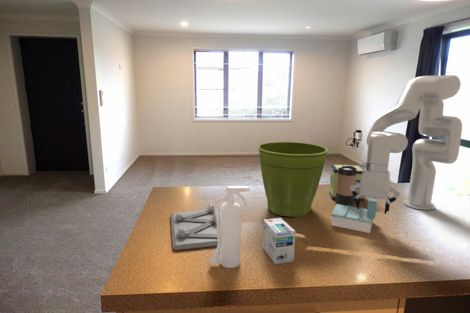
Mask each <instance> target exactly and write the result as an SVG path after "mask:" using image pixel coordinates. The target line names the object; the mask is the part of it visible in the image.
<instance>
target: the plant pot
mask: <svg viewBox="0 0 470 313" xmlns="http://www.w3.org/2000/svg"><path fill="white" fill-rule="evenodd" d="M257 149H258V151H259V152H258V154H259V163H260V169H261V178H262V183H263V188H264V191H265V197H266V201H267V203H266V204H267V209H268V210H269V212H271V213H273V214H274V215H278V216H282V217H290V218H296V217H301V216H307V215H308V214H310V213H311V211H312V210H311V209H312V204H313V202H314V199H315V197H316V193H317V190H318V188H319V184H320V181H321V178H322V173H323V169H324V165H325V163H326V160H327V159H326V158H327V154H328V152H329V149H328V148H327V147H325V146H322V145H319V144H314V143H307V142H300V141H299V142H297V141H295V142H294V141H275V142H274V141H273V142H265V143H260V144H259V145H257Z"/></svg>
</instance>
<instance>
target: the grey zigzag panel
mask: <svg viewBox="0 0 470 313" xmlns="http://www.w3.org/2000/svg"><path fill="white" fill-rule="evenodd" d="M208 205H209V206H206V209H200V210H199V209H198V210H196V209H195V210H187V211H186V210H185V211H175V212H174V211H173V212H172V213H170V225H171V226H170V227H171V240H172V241H171V242H172V249H173V250H174V251H176V250H178V251H184V250H183V249H187V250H193V248H196V249H203V247H205V248H212V247H213V248H214V247H217V245H218V238H217V223H216V216H215V212H214V208H215V203H211V204H208ZM217 211H218V215H219V223H220V208H218V209H217Z"/></svg>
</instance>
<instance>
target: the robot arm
mask: <svg viewBox="0 0 470 313" xmlns="http://www.w3.org/2000/svg"><path fill="white" fill-rule="evenodd" d="M460 89H461V79H460V78H459V77H458V76H457V75H454V74H450V75H446V74H443V75H442V74H441V75H421V76H417V77H415V78H413V79H410V80H409V81H407V83H406V84H405V86H404V88H403V90H402V92H401V94H400V96H399V99H398V100H397V102H396V103H395V106H394V107H393V108H392V109H390V110H388V111H386V112H384V113H383V114H382V115H380V116H379V117H378V118H377V119H376V120H375V121H374V122H373V124H372V126H371V127H370V129H369V131H368V133H367V136H366V145H367V152H366V161H364V162H361V166H362V167H363V168H364V169H363V172H362V175H361V181H360V183H357V184H354V185H351V186H350V189H351V191H352V194H353V195H354V196H355V198H356V201H355V207H357V209H359V208H361V207H360V206H361V201H360V200H361V198H360V197H361V196H365V198H366V197H367V198H371V199H377V200H384V201H385V207H384V213H383V214H384V215H387V212H388V213H389V212H390V206H391V204H392V203H394V202H395V201H397V199H398V198H399V197H400V195H401V192H399V191H398V190H395V188H392V187H391V185H390V183H391V176H390V174H391V173H390V171H389V164H390V153H392V154H399V153H402V152H404V151H405V150H406V148H407V147H408V144H409V143H408V142H409V140H408V137H407V136H406V135H405V134H403V133H399V132H393V131H386V129H388V128H389V127H391V126H394V125H397V124H401V123H404V122H408V121H411V120H413V119H415V118H416V117H417V116H418V114H419V118H418V133H419V135H422V136H424V137H429V138H420V139H417V140H415V141H414V143H413V144H412V152H411V153H412V165H411V166H412V168H411V174H410V179H409V188H408V193H407V194H408V196H407V198H405V199H403V205H406V207H409V208H411V209H417V210H421V211H431V210H434V209H435V204H434V203H433V202H432V200H433V199H432V198H433V192H434V187H435V186H434V185H435V179H436V172H437V170H436V169H437V168H436V166H435V164H434V163H433V162H436V163H440V164H441V163H442V164H447V165H450V164H451V165H452V164H454V163H455V162H456V161H457V160H458V157H459V154H460V146H461V139H462V132H463V123H462V120H461V119H460V118H459V117H457V116H451V115H450V116H449V115H448V116H447V115H444V106H445V105H444V100H447V99H450V98H453V97H454V96H457V94H458V93H459V91H460ZM431 138H439V139H444V140H438V139H431ZM357 187H359V193H357V192H356V191H355V189H354V188H357ZM390 193H392V194H393V196H392V197H389V195H390Z"/></svg>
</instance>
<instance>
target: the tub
mask: <svg viewBox="0 0 470 313" xmlns="http://www.w3.org/2000/svg"><path fill="white" fill-rule="evenodd" d="M331 226H334V227H339V228H344V229H348V230H353V231H358V232H362V233H368V234H371V231H372V228H373V224H370V223H365V222H360V221H355V220H350V219H345V218H339V217H334V216H331Z"/></svg>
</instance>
